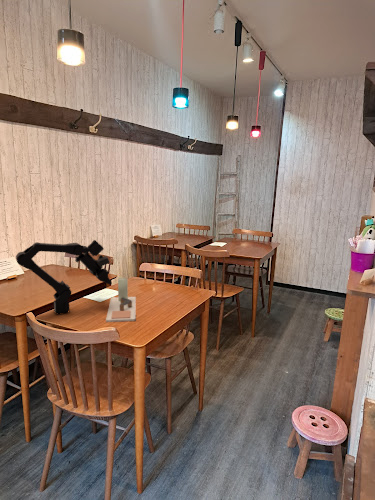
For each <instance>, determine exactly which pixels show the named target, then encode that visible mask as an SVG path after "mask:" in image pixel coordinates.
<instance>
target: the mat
mask: <svg viewBox="0 0 375 500" xmlns="http://www.w3.org/2000/svg"><path fill="white" fill-rule="evenodd" d="M130 313H131V311H113V312H112V317H111V319H120V318H130Z"/></svg>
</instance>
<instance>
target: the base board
mask: <svg viewBox="0 0 375 500" xmlns="http://www.w3.org/2000/svg"><path fill="white" fill-rule="evenodd" d="M128 299H129V300H131V301H132V307H130V308H129V307H128V304H127V305H124V311H131V313H130V318H120V319H111V317H112V312H113V311H120V304H121V302H120V301H118V296H117V297H116V296H115V297H114V296H113V297H110V300H109V306H108V310H107V314H106V318H105V323H112V322H113V323H116V322H119V323H121V322H136V311H137V310H136V306H137V305H136V303H137V301H136V300H137V296H128Z"/></svg>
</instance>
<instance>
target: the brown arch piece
mask: <svg viewBox="0 0 375 500" xmlns="http://www.w3.org/2000/svg"><path fill="white" fill-rule="evenodd" d="M125 301H126V302H125ZM127 304H128V307H129V308H130V307H132V301H131V300H129V299H126V298H124V297H123V298H121V304H120V311H124V305H127Z"/></svg>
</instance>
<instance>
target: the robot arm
mask: <svg viewBox="0 0 375 500" xmlns="http://www.w3.org/2000/svg"><path fill="white" fill-rule="evenodd" d="M103 250H105V249H104V247H103V245H102V244H100V243H99V242H97V240H96V239H94V240H92V242H91V243H90V244H89V245H87V246H85V245H81V244H80V243H78V242H71V243H70V242H69V243H65V244H64V243H63V244H61V243H60V244H59V243H48V242H47V243H44V242H34V243H32V245H31V246H29V247H27V248H25V249H24V250H23V251H19V252H17V254H15V255H16V256H15V260H16V263H17V264H18V265H19V266H21V267H23V268H24V269H27V270H29V271H31V272H32V273H34V274H35V275H36V276H37V277H38V278H40V279H41V280H43V282H45V283H46V284H48V285H49V286H50V287H52V288H53V290H54V291H55V293H54V294H53V298H54V300H53V308H54V309H53V312H54V311H55V312H56V313H58V314H59V315H61V314H60V313H64V314H67V313H66V312H68V311H69V312H70V302H69V298H70V297H72V290H71V287H70V286H69V284H67V283H65V282H64V281H63V280H61V281H58V280H57V279H55V278H54V277H53V276H52V275H50V274H49V273H48V272H47V271H46V270H44V269H43V268H42V267H40V266H39V265H38V264H37V263H36V262H35V260H34V259H33V258H34V257H35V256H36V255H37V254H38V253H39V252H44V253H45V252H48V253H49V252H50V253H64V254H69V255H73V256H75V258H74V259H75V260H74V261H75V263H79V262H80V263H81V264H83V265H84V266H85V267H86V268H87V269H88V271H89V272H90V274H92V275H93V276H95V278H96V279H98V281H100V282H102V283H105V284H108V285H109V286H110V285H112V284H113V283H112V281H111V279H110V278H109V272H110V271H108V269H107V268H103V267H104V266H106V265H107V264H110V259H109V258H108V257H107V256H106V255H101V254H100V253H101V252H103ZM99 254H100V255H99ZM94 256H95V257H97V256H98V257H97V259H95V258H94ZM55 312H54V313H55ZM56 313H55V314H56Z"/></svg>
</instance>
